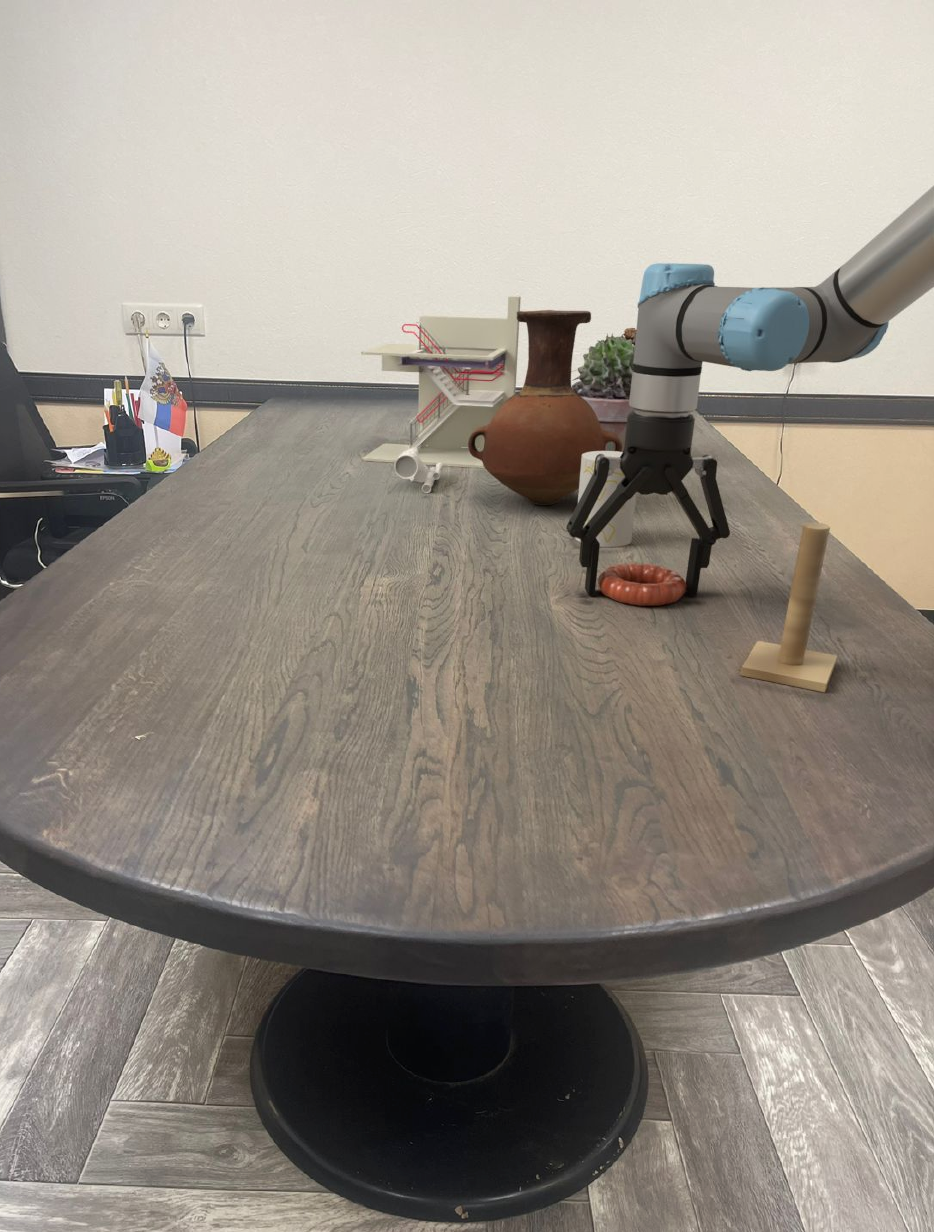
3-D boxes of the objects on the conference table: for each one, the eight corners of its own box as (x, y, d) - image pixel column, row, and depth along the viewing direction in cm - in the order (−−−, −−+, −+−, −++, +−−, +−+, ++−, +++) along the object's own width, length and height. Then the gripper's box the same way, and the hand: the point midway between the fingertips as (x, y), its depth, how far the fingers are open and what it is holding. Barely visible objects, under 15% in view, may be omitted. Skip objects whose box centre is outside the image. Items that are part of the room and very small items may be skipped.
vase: (609, 492, 166) (627, 308, 153) (621, 521, 148) (643, 315, 135) (468, 487, 168) (474, 305, 155) (463, 516, 150) (469, 312, 137)
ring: (693, 589, 119) (696, 569, 118) (670, 614, 111) (673, 593, 109) (613, 575, 123) (615, 556, 122) (585, 599, 115) (587, 578, 114)
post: (835, 664, 98) (866, 521, 91) (825, 692, 91) (857, 541, 85) (756, 649, 101) (780, 510, 95) (740, 675, 95) (765, 529, 89)
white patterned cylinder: (570, 543, 137) (577, 459, 131) (579, 529, 144) (586, 449, 138) (627, 549, 134) (636, 464, 129) (634, 534, 141) (643, 453, 136)
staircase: (359, 462, 186) (357, 297, 173) (384, 445, 202) (383, 293, 189) (497, 471, 180) (506, 301, 167) (512, 453, 196) (520, 296, 183)
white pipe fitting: (425, 484, 177) (445, 465, 175) (418, 503, 164) (440, 482, 162) (395, 453, 175) (416, 433, 173) (386, 469, 162) (408, 448, 160)
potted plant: (542, 469, 182) (551, 331, 172) (568, 451, 199) (578, 324, 188) (636, 478, 176) (652, 335, 166) (655, 459, 192) (670, 328, 182)
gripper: (755, 407, 111) (727, 582, 121) (551, 405, 111) (538, 581, 120) (778, 418, 105) (747, 603, 114) (561, 416, 104) (547, 602, 113)
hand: (640, 592), depth 117 cm, fingers open, 12 cm apart
